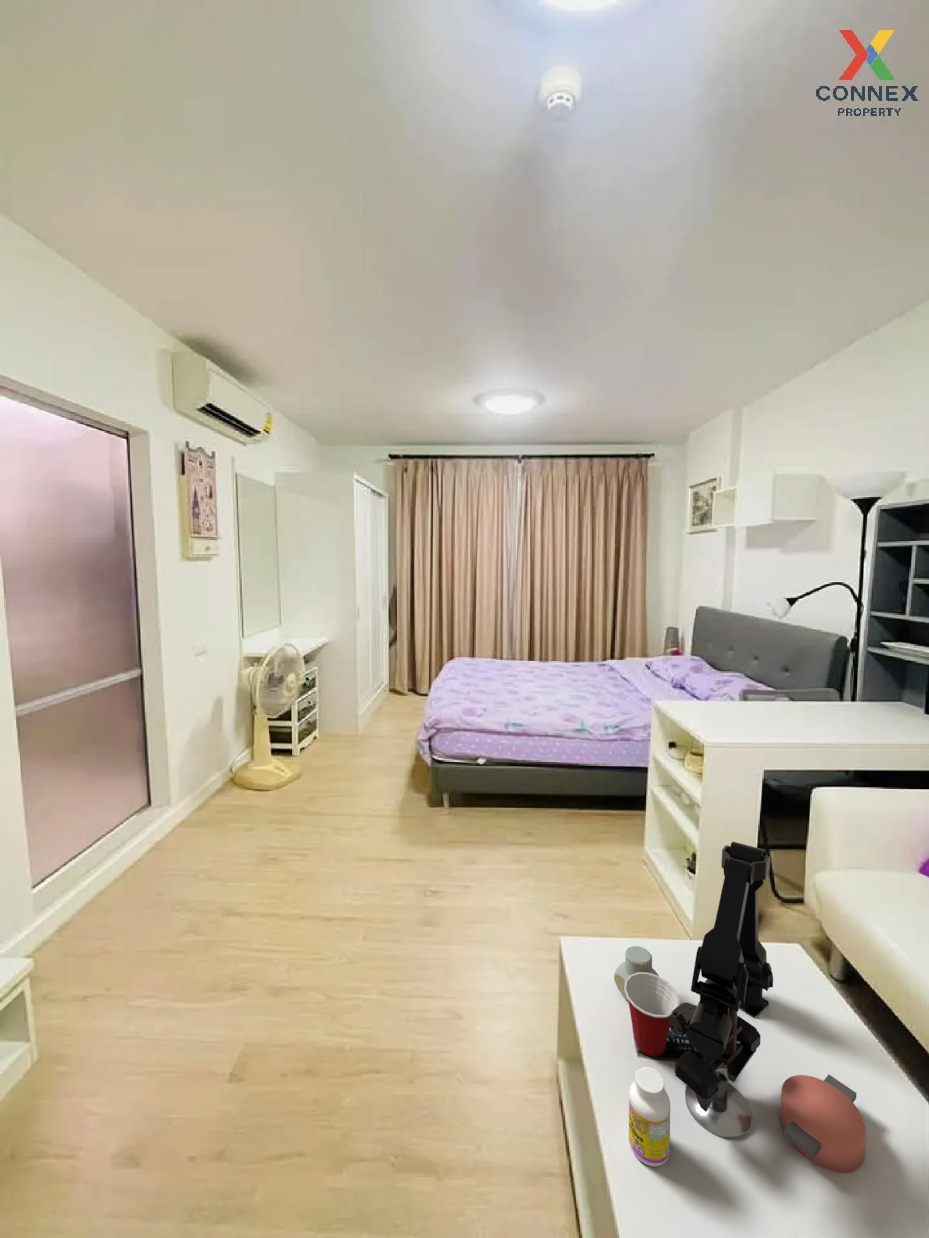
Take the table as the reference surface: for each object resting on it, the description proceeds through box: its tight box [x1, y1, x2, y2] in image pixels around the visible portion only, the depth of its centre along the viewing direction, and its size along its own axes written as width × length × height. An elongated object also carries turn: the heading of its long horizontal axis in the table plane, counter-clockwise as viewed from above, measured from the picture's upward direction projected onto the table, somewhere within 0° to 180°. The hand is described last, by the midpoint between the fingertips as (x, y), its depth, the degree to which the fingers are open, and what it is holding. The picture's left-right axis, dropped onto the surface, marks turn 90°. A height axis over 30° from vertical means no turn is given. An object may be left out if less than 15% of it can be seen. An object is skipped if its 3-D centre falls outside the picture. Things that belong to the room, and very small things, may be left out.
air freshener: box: [613, 945, 660, 1001], centre depth 123 cm, size 11×8×10 cm
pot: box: [780, 1074, 866, 1174], centre depth 92 cm, size 17×12×5 cm
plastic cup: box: [624, 972, 680, 1057], centre depth 110 cm, size 11×11×12 cm
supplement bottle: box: [628, 1066, 671, 1168], centre depth 90 cm, size 7×7×13 cm
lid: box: [684, 1070, 752, 1140], centre depth 97 cm, size 11×11×6 cm
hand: (717, 1094), depth 97 cm, fingers open, 9 cm apart
